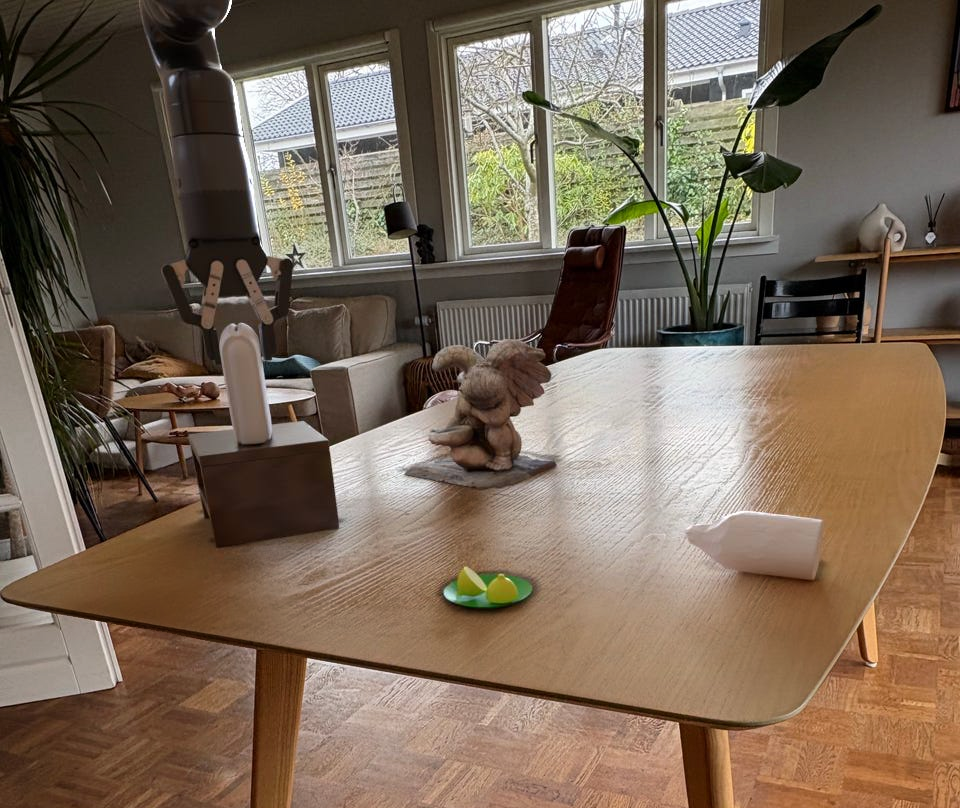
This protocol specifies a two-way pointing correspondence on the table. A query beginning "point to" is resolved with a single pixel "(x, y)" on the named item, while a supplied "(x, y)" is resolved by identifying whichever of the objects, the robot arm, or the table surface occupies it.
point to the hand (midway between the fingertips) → (242, 361)
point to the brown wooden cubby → (265, 484)
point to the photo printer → (245, 384)
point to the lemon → (486, 590)
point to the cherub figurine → (488, 416)
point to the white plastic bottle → (762, 543)
